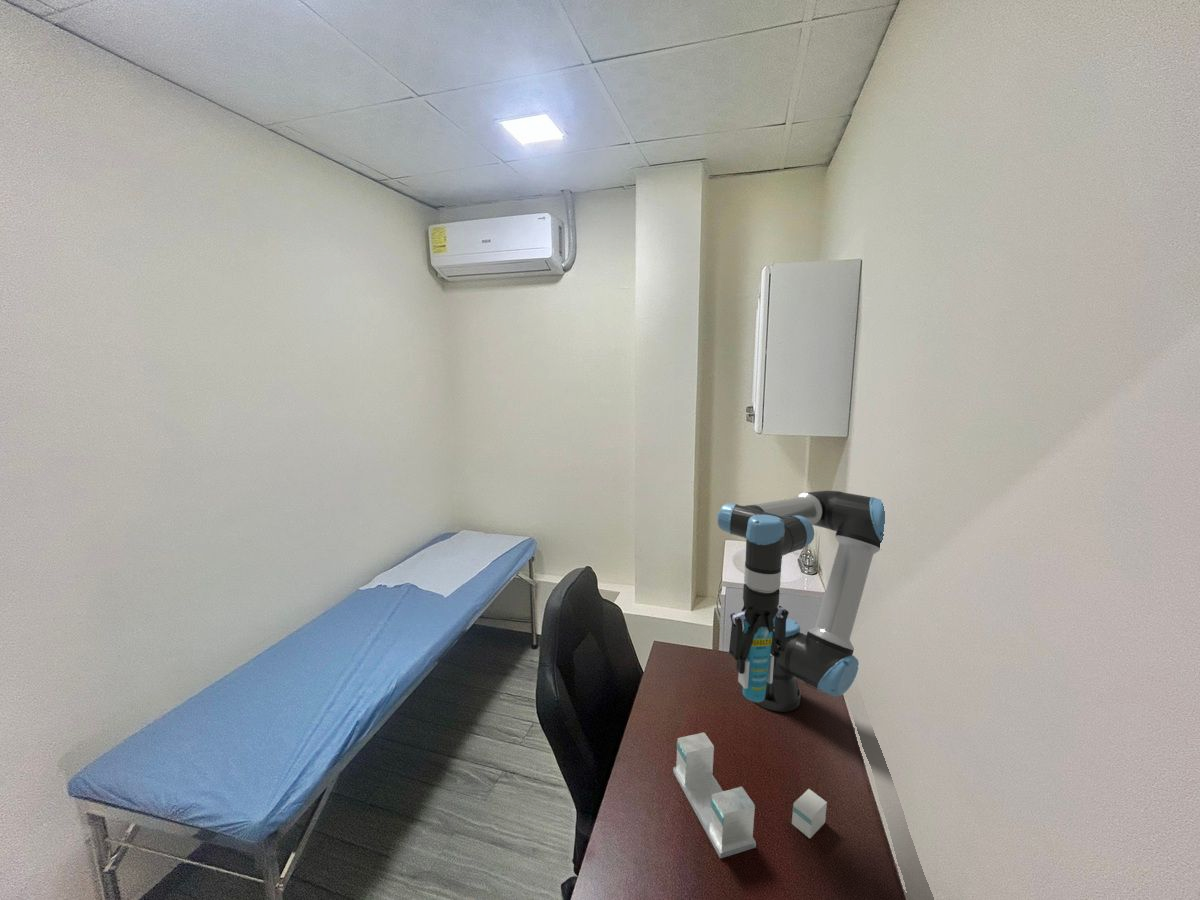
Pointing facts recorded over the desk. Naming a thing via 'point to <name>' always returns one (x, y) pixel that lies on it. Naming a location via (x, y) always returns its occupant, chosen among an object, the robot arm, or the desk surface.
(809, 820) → the block
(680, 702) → the desk surface
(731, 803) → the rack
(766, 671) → the tube
